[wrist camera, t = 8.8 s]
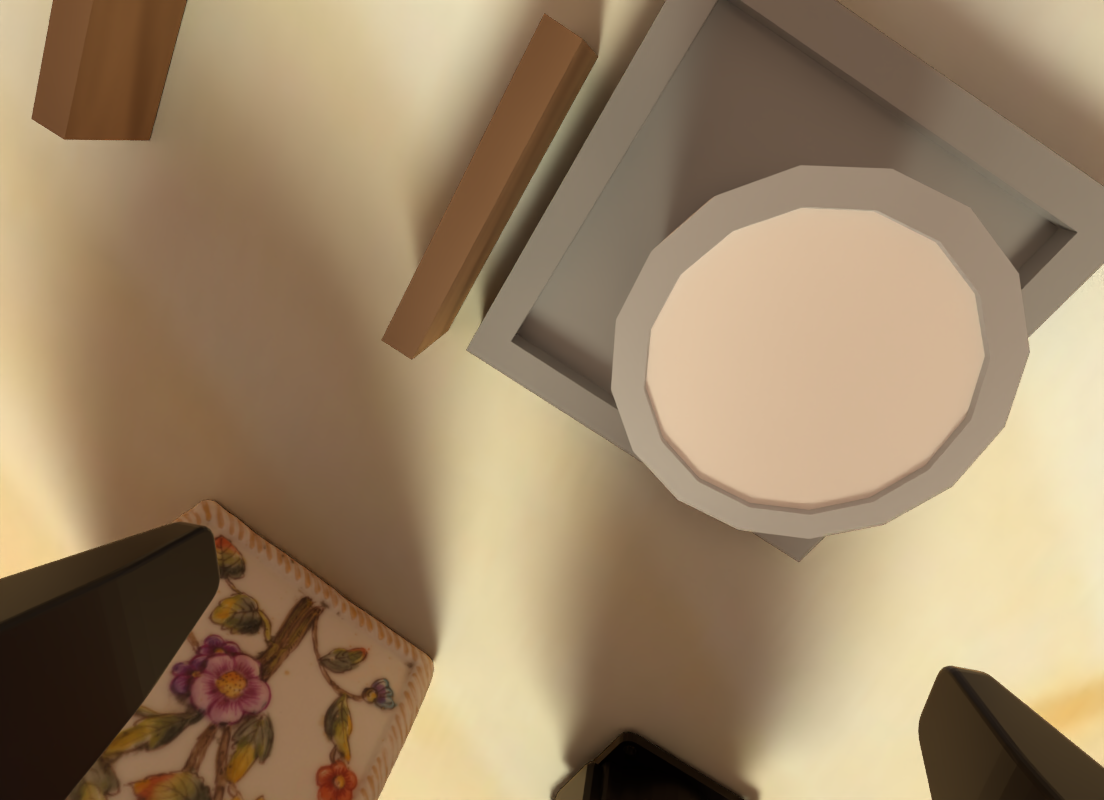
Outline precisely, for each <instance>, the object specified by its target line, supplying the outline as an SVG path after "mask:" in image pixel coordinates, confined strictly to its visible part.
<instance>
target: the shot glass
mask: <svg viewBox="0 0 1104 800" xmlns="http://www.w3.org/2000/svg"><path fill="white" fill-rule="evenodd" d="M1029 353H1030V350H1029V343H1028V336H1027V328H1026V321H1025V314H1024V307H1023V299H1022V292H1021V285H1020V277H1019V273H1018V272H1017V270H1016V269H1015V268H1014V266H1013V265H1012V264H1011V262H1010V261H1009V259H1008V258H1007V257H1006V255H1005V254H1004V253H1003V251H1002V250H1001V249H1000V247H999V246H998V245H997V243H996V242H995V240H994V239H993V238H992V236H991V235H990V234H989V232H988V231H987V230H986V228H985V227H984V225H983V224H982V223H981V221H980V220H979V219H978V217H977V216H976V215H975V213H974V212H973V211H972V209H971V208H970V207H968V206H966V205H964V204H962V203H960V202H958V201H956V200H954V199H952V198H950V197H948V196H946V195H944V194H942V193H940V192H938V191H936V190H934V189H932V188H930V187H928V186H926V185H924V184H922V183H920V182H918V181H916V180H914V179H912V178H910V177H908V176H906V175H904V174H902V173H900V172H898V171H896V170H894V169H887V168H860V167H834V166H808V165H800V166H797V167H794V168H791V169H789V170H786V171H783V172H780V173H777V174H775V175H772V176H769V177H766V178H764V179H761V180H758V181H755V182H752V183H750V184H747V185H744V186H741V187H738V188H736V189H733V190H730V191H727V192H725V193H722V194H719V195H716V196H714V197H713V198H711V199H710V200H709V201H708V202H707V203H705V204H704V205H703V206H702V207H701V208H700V209H699V210H697V211H696V212H695V213H694V214H693V215H692V216H690V217H689V218H688V219H687V220H686V221H685V222H684V223H682V224H681V225H680V226H679V227H678V228H677V229H676V230H674V231H673V232H672V233H671V234H670V235H669V236H668V237H667V238H666V239H664V240H663V241H662V242H661V243H660V244H659V245H658V246H657V247H656V248H654V249H653V250H652V251H651V253H650V255H649V257H648V258H647V260H646V262H645V264H644V266H643V268H642V270H641V272H640V274H639V276H638V278H637V280H636V282H635V284H634V286H633V288H632V290H631V291H630V293H629V295H628V297H627V299H626V301H625V303H624V305H623V307H622V309H621V311H620V313H619V315H618V317H617V319H616V326H615V340H614V354H613V367H612V381H611V391H612V394H613V397H614V399H615V402H616V405H617V408H618V411H619V413H620V416H621V419H622V422H623V425H624V427H625V430H626V433H627V436H628V439H629V442H630V444H631V447H632V450H633V452H634V453H635V454H636V455H637V456H638V457H639V458H640V460H641V461H642V462H643V463H644V464H645V465H646V466H647V467H648V468H649V469H650V470H651V472H652V473H653V474H654V475H655V476H656V477H657V478H658V479H659V480H660V481H661V482H662V484H663V485H664V486H665V487H666V488H667V489H668V490H669V491H670V492H671V493H672V494H673V495H674V497H675V498H676V499H677V500H679V501H681V502H683V503H685V504H687V505H689V506H691V507H693V508H695V509H697V510H699V511H701V512H703V513H705V514H707V515H709V516H711V517H713V518H715V519H717V520H719V521H721V522H723V523H725V524H727V525H729V526H731V527H733V528H735V529H737V530H743V531H751V532H759V533H767V534H775V535H782V536H790V537H798V538H806V539H812V538H817V537H822V536H827V535H833V534H838V533H843V532H848V531H853V530H859V529H864V528H869V527H874V526H879V525H884V524H886V523H888V522H889V521H891V520H893V519H895V518H897V517H898V516H900V515H902V514H904V513H906V512H907V511H909V510H911V509H913V508H915V507H916V506H918V505H920V504H922V503H924V502H925V501H927V500H929V499H931V498H933V497H934V496H936V495H938V494H940V493H942V492H943V491H945V490H947V489H949V488H951V487H952V486H953V485H954V484H955V483H956V482H957V481H958V479H959V478H960V477H961V476H962V475H963V474H964V473H965V471H966V470H967V469H968V468H969V467H970V466H971V465H972V464H973V462H974V461H975V460H976V459H977V458H978V457H979V456H980V454H981V453H982V452H983V451H984V450H985V449H986V448H987V446H988V445H989V444H990V443H991V442H992V441H993V440H994V438H995V437H996V436H997V435H998V434H999V433H1000V432H1001V430H1002V429H1003V428H1004V427H1005V424H1006V421H1007V418H1008V415H1009V412H1010V409H1011V406H1012V403H1013V400H1014V397H1015V394H1016V391H1017V388H1018V386H1019V383H1020V380H1021V377H1022V374H1023V371H1024V368H1025V365H1026V362H1027V359H1028V356H1029Z"/></svg>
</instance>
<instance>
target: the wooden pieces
mask: <svg viewBox="0 0 1104 800" xmlns="http://www.w3.org/2000/svg"><path fill="white" fill-rule="evenodd" d="M186 1H187V0H53V4H52V9H51V15H50V20H49V26H48V31H47V37H46V42H45V48H44V53H43V59H42V64H41V70H40V75H39V81H38V86H37V92H36V97H35V103H34V108H33V114H32V119H33V120H34V121H36V122H38V123H39V124H41V125H42V126H44V127H45V128H47V129H49V130H50V131H52V132H53V133H55V134H56V135H58V136H60V137H61V138H63V139H68V140H150V136H151V132H152V129H153V125H154V121H155V117H156V114H157V110H158V106H159V102H160V99H161V95H162V91H163V87H164V84H165V80H166V76H167V72H168V69H169V65H170V61H171V58H172V54H173V50H174V46H175V43H176V39H177V35H178V31H179V28H180V24H181V20H182V16H183V13H184V9H185V5H186ZM597 58H598V56H597V55H596V54H595V53H594V51H593V50H592V49H591V48H590V47H589V46H588V45H587V43H586V42H585V41H584V40H583V39H582V38H581V37H579V36H578V35H576V34H575V33H573V32H572V31H570V30H569V29H567V28H566V27H564V26H563V25H561V24H560V23H558V22H557V21H555V20H554V19H552V18H551V17H549V16H548V15H546V14H545V13H544V15H543V17H542V19H541V21H540V23H539V25H538V27H537V29H536V31H535V33H534V35H533V37H532V39H531V41H530V43H529V45H528V47H527V49H526V51H525V53H524V55H523V57H522V59H521V61H520V63H519V65H518V67H517V69H516V71H515V73H514V75H513V77H512V79H511V81H510V83H509V85H508V87H507V89H506V91H505V93H504V95H503V97H502V99H501V101H500V103H499V105H498V107H497V109H496V111H495V113H494V115H493V117H492V119H491V121H490V123H489V125H488V127H487V129H486V131H485V133H484V135H483V137H482V139H481V141H480V143H479V145H478V147H477V149H476V151H475V153H474V155H473V157H472V159H471V161H470V163H469V165H468V167H467V169H466V171H465V173H464V175H463V177H462V179H461V181H460V183H459V185H458V187H457V189H456V191H455V193H454V195H453V197H452V199H451V201H450V204H449V206H448V208H447V210H446V212H445V214H444V216H443V218H442V220H441V222H440V224H439V226H438V228H437V230H436V232H435V234H434V236H433V238H432V240H431V242H430V244H429V246H428V248H427V250H426V252H425V254H424V256H423V258H422V260H421V262H420V264H419V266H418V268H417V270H416V272H415V274H414V276H413V278H412V280H411V282H410V284H409V286H408V288H407V290H406V292H405V294H404V296H403V298H402V300H401V302H400V304H399V306H398V308H397V310H396V312H395V314H394V316H393V318H392V320H391V322H390V324H389V326H388V328H387V330H386V332H385V334H384V336H383V338H382V341H383V342H385V343H387V344H388V345H390V346H391V347H393V348H394V349H396V350H398V351H399V352H401V353H402V354H404V355H405V356H407V357H409V358H410V359H413V358H415V357H416V356H417V355H418V354H420V353H421V352H422V351H423V350H425V349H426V348H427V347H428V346H430V345H431V344H432V343H433V342H435V341H436V340H437V339H438V338H440V337H441V336H442V335H443V334H445V333H446V332H447V331H448V330H449V328H450V326H451V324H452V322H453V320H454V319H455V317H456V315H457V313H458V311H459V310H460V308H461V306H462V304H463V302H464V300H465V299H466V297H467V295H468V293H469V291H470V289H471V288H472V286H473V284H474V282H475V280H476V278H477V277H478V275H479V273H480V271H481V269H482V268H483V266H484V264H485V262H486V260H487V258H488V257H489V255H490V253H491V251H492V249H493V247H494V246H495V244H496V242H497V240H498V238H499V237H500V235H501V233H502V231H503V229H504V227H505V226H506V224H507V222H508V220H509V218H510V216H511V215H512V213H513V211H514V209H515V207H516V206H517V204H518V202H519V200H520V198H521V196H522V195H523V193H524V191H525V189H526V187H527V185H528V184H529V182H530V180H531V178H532V176H533V175H534V173H535V171H536V169H537V167H538V165H539V164H540V162H541V160H542V158H543V156H544V154H545V153H546V151H547V149H548V147H549V145H550V144H551V142H552V140H553V138H554V136H555V134H556V133H557V131H558V129H559V127H560V125H561V123H562V122H563V120H564V118H565V116H566V114H567V113H568V111H569V109H570V107H571V105H572V103H573V102H574V100H575V98H576V96H577V94H578V92H579V91H580V89H581V87H582V85H583V83H584V82H585V80H586V78H587V76H588V74H589V72H590V71H591V69H592V67H593V65H594V63H595V61H596V60H597Z"/></svg>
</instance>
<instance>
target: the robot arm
mask: <svg viewBox="0 0 1104 800" xmlns="http://www.w3.org/2000/svg"><path fill="white" fill-rule="evenodd" d="M219 583H220V572H219V566H218V559H217V552H216V545H215V539H214V534H213V532H212V531H211V529H210V528H208V527H206V526H204V525H199V524H194V523H188V522H174V523H171V524H168V525H165V526H162V527H158V528H155V529H152V530H149V531H146V532H143V533H140V534H137V535H134V536H131V537H128V538H125V539H121V540H118V541H115V542H112V543H109V544H106V545H103V546H100V547H97V548H94V549H91V550H88V551H84V552H81V553H78V554H75V555H72V556H69V557H66V558H63V559H60V560H57V561H54V562H51V563H47V564H44V565H41V566H38V567H35V568H32V569H29V570H26V571H23V572H20V573H17V574H14V575H10V576H7V577H4V578H1V579H0V800H66V798H67V797H68V796H69V795H70V793H71V792H72V791H73V790H74V788H75V787H76V786H77V785H78V783H79V782H80V781H81V780H82V778H83V777H84V776H85V775H86V773H87V772H88V771H89V770H90V769H91V767H92V766H93V765H94V764H95V762H96V761H97V760H98V759H99V757H100V756H101V755H102V754H103V752H104V751H105V750H106V749H107V747H108V746H109V745H110V744H111V742H112V741H113V740H114V739H115V737H116V736H117V735H118V734H119V732H120V731H121V730H122V729H123V727H124V726H125V725H126V724H127V723H128V721H129V720H130V719H131V717H132V716H133V715H134V714H135V712H136V711H137V710H138V708H139V707H140V706H141V704H142V703H143V702H144V700H145V699H146V698H147V696H148V695H149V693H150V692H151V691H152V689H153V688H154V686H155V685H156V684H157V682H158V681H159V679H160V678H161V676H162V675H163V673H164V672H165V670H166V669H167V667H168V666H169V664H170V663H171V661H172V660H173V658H174V657H175V655H176V654H177V652H178V651H179V649H180V648H181V646H182V645H183V643H184V642H185V640H186V639H187V637H188V636H189V634H190V633H191V631H192V630H193V628H194V627H195V625H196V624H197V622H198V621H199V619H200V618H201V616H202V615H203V613H204V612H205V610H206V609H207V607H208V606H209V604H210V603H211V601H212V600H213V598H214V596H215V595H216V592H217V590H218V587H219ZM918 732H919V741H920V746H921V751H922V755H923V760H924V765H925V769H926V774H927V778H928V783H929V788H930V792H931V797H932V800H1104V768H1103V767H1102V766H1101V765H1100V764H1099V763H1097V762H1096V761H1095V760H1094V759H1092V758H1091V757H1090V756H1089V755H1087V754H1086V753H1085V752H1084V751H1083V750H1081V749H1080V748H1079V747H1078V746H1076V745H1075V744H1074V743H1073V742H1071V741H1070V740H1069V739H1068V738H1067V737H1065V736H1064V735H1063V734H1062V733H1060V732H1059V731H1058V730H1057V729H1056V728H1054V727H1053V726H1052V725H1051V724H1049V723H1048V722H1047V721H1046V720H1044V719H1043V718H1042V717H1041V716H1040V715H1038V714H1037V713H1036V712H1035V711H1033V710H1032V709H1031V708H1030V707H1028V706H1027V705H1026V704H1025V703H1024V702H1022V701H1021V700H1020V699H1019V698H1017V697H1016V696H1015V695H1014V694H1012V693H1011V692H1010V691H1009V690H1008V689H1006V688H1005V687H1004V686H1003V685H1001V684H1000V683H999V682H998V681H996V680H995V679H994V678H993V677H991V676H990V675H989V674H987V673H984V672H981V671H977V670H972V669H966V668H961V667H956V666H947V667H944V668H943V669H941V670H940V672H939V673H938V675H937V677H936V680H935V682H934V685H933V687H932V689H931V692H930V694H929V697H928V699H927V701H926V704H925V706H924V709H923V711H922V714H921V716H920V720H919V729H918ZM629 745H630V746H629ZM555 800H744V799H742V798H740V797H739V796H737V795H735V794H734V793H732V792H731V791H729V790H727V789H726V788H724V787H722V786H721V785H719V784H717V783H716V782H714V781H713V780H711V779H709V778H708V777H706V776H704V775H703V774H701V773H699V772H698V771H696V770H695V769H693V768H691V767H690V766H688V765H686V764H685V763H683V762H681V761H680V760H678V759H677V758H675V757H673V756H672V755H670V754H668V753H667V752H665V751H664V750H662V749H660V748H659V747H657V746H655V745H654V744H652V743H650V742H649V741H647V740H646V739H644V738H642V737H641V736H639V735H637V734H635V733H631V732H626V733H623V734H621V735H620V736H619V737H618V738H617V739H616V740H615V741H614V742H613V743H612V744H611V745H610V746H608V747H607V748H606V749H605V750H604V751H603V752H602V753H601V754H600V755H599V756H598V757H597V758H596V759H595V760H594V761H592V762H590V763H588V764H586V765H585V766H584V767H583V768H582V769H581V770H580V771H579V772H578V773H577V774H576V775H575V776H574V777H573V778H572V779H571V780H570V781H569V782H568V783H567V784H566V785H565V786H564V787H563V788H562V789H561V790H560V791H559V792H558V793H557V796H556V799H555Z"/></svg>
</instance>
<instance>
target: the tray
mask: <svg viewBox="0 0 1104 800" xmlns="http://www.w3.org/2000/svg"><path fill="white" fill-rule="evenodd" d="M800 165H808V166H834V167H860V168H887V169H894V170H896V171H898V172H900V173H902V174H904V175H906V176H908V177H910V178H912V179H914V180H916V181H918V182H920V183H922V184H924V185H926V186H928V187H930V188H932V189H934V190H936V191H938V192H940V193H942V194H944V195H946V196H948V197H950V198H952V199H954V200H956V201H958V202H960V203H962V204H964V205H966V206H968V207H970V208H971V209H972V211H973V212H974V213H975V215H976V216H977V217H978V219H979V220H980V221H981V223H982V224H983V225H984V227H985V228H986V230H987V231H988V232H989V234H990V235H991V236H992V238H993V239H994V240H995V242H996V243H997V245H998V246H999V247H1000V249H1001V250H1002V251H1003V253H1004V254H1005V255H1006V257H1007V258H1008V259H1009V261H1010V262H1011V264H1012V265H1013V266H1014V268H1015V269H1016V270H1017V272H1018V273H1019V277H1020V285H1021V292H1022V299H1023V307H1024V314H1025V321H1026V328H1027V336H1028V337H1029V336H1030V335H1031V334H1032V333H1033V332H1034V331H1035V330H1037V329H1038V328H1039V327H1040V326H1041V325H1042V324H1043V323H1044V322H1045V321H1046V320H1047V319H1048V318H1049V317H1050V316H1051V315H1052V314H1053V313H1054V312H1055V311H1056V310H1057V309H1058V308H1059V307H1060V306H1061V305H1062V304H1063V303H1064V302H1065V301H1066V300H1067V299H1068V298H1069V297H1070V296H1071V295H1072V294H1073V293H1074V292H1075V291H1076V290H1077V289H1078V288H1079V287H1080V286H1081V285H1082V284H1083V283H1085V282H1086V281H1087V280H1088V279H1089V278H1090V277H1091V276H1092V275H1093V274H1094V273H1095V272H1096V271H1097V270H1098V269H1099V268H1100V267H1101V266H1102V265H1103V264H1104V186H1103V185H1101V184H1100V183H1098V182H1097V181H1095V180H1094V179H1093V178H1091V177H1090V176H1088V175H1087V174H1085V173H1084V172H1082V171H1081V170H1080V169H1078V168H1077V167H1075V166H1074V165H1072V164H1071V163H1069V162H1068V161H1067V160H1065V159H1064V158H1062V157H1061V156H1059V155H1058V154H1056V153H1055V152H1054V151H1052V150H1051V149H1049V148H1048V147H1046V146H1045V145H1044V144H1042V143H1041V142H1039V141H1038V140H1036V139H1035V138H1033V137H1032V136H1031V135H1029V134H1028V133H1026V132H1025V131H1023V130H1022V129H1020V128H1019V127H1018V126H1016V125H1015V124H1013V123H1012V122H1010V121H1009V120H1007V119H1006V118H1005V117H1003V116H1002V115H1000V114H999V113H997V112H996V111H995V110H993V109H992V108H990V107H989V106H987V105H986V104H984V103H983V102H982V101H980V100H979V99H977V98H976V97H974V96H973V95H971V94H970V93H969V92H967V91H966V90H964V89H963V88H961V87H960V86H958V85H957V84H956V83H954V82H953V81H951V80H950V79H948V78H947V77H946V76H944V75H943V74H941V73H940V72H938V71H937V70H935V69H934V68H933V67H931V66H930V65H928V64H927V63H925V62H924V61H922V60H921V59H920V58H918V57H917V56H915V55H914V54H912V53H911V52H909V51H908V50H907V49H905V48H904V47H902V46H901V45H899V44H898V43H897V42H895V41H894V40H892V39H891V38H889V37H888V36H886V35H885V34H884V33H882V32H881V31H879V30H878V29H876V28H875V27H873V26H872V25H871V24H869V23H868V22H866V21H865V20H863V19H862V18H860V17H859V16H858V15H856V14H855V13H853V12H852V11H850V10H849V9H848V8H846V7H845V6H843V5H842V4H840V3H839V2H837V1H836V0H666V1H665V3H664V5H663V6H662V8H661V10H660V12H659V13H658V15H657V17H656V19H655V20H654V22H653V24H652V26H651V27H650V29H649V31H648V33H647V34H646V36H645V38H644V40H643V41H642V43H641V45H640V47H639V48H638V50H637V52H636V54H635V55H634V57H633V59H632V61H631V62H630V64H629V66H628V68H627V69H626V71H625V73H624V75H623V76H622V78H621V80H620V82H619V83H618V85H617V87H616V89H615V90H614V92H613V94H612V96H611V97H610V99H609V101H608V103H607V104H606V106H605V108H604V110H603V111H602V113H601V115H600V117H599V118H598V120H597V122H596V124H595V125H594V127H593V129H592V131H591V132H590V134H589V136H588V138H587V139H586V141H585V143H584V145H583V146H582V148H581V150H580V152H579V153H578V155H577V157H576V159H575V160H574V162H573V164H572V166H571V167H570V169H569V171H568V173H567V174H566V176H565V178H564V180H563V181H562V183H561V185H560V187H559V188H558V190H557V192H556V193H555V195H554V197H553V199H552V200H551V202H550V204H549V206H548V207H547V209H546V211H545V213H544V214H543V216H542V218H541V220H540V221H539V223H538V225H537V227H536V228H535V230H534V232H533V234H532V235H531V237H530V239H529V241H528V242H527V244H526V246H525V248H524V249H523V251H522V253H521V255H520V256H519V258H518V260H517V262H516V263H515V265H514V267H513V269H512V270H511V272H510V274H509V276H508V277H507V279H506V281H505V283H504V284H503V286H502V288H501V290H500V291H499V293H498V295H497V297H496V298H495V300H494V302H493V304H492V305H491V307H490V309H489V311H488V312H487V314H486V316H485V318H484V319H483V321H482V323H481V325H480V326H479V328H478V330H477V332H476V333H475V335H474V337H473V339H472V340H471V342H470V344H469V346H468V347H467V349H466V350H467V351H468V352H470V353H471V354H473V355H475V356H476V357H478V358H479V359H481V360H482V361H484V362H486V363H487V364H489V365H490V366H492V367H493V368H495V369H497V370H498V371H500V372H501V373H503V374H504V375H506V376H508V377H509V378H511V379H512V380H514V381H515V382H517V383H519V384H520V385H522V386H523V387H525V388H526V389H528V390H529V391H531V392H533V393H534V394H536V395H537V396H539V397H540V398H542V399H544V400H545V401H547V402H548V403H550V404H551V405H553V406H555V407H556V408H558V409H559V410H561V411H562V412H564V413H566V414H567V415H569V416H570V417H572V418H573V419H575V420H577V421H578V422H580V423H581V424H583V425H584V426H586V427H588V428H589V429H591V430H592V431H594V432H595V433H597V434H599V435H600V436H602V437H603V438H605V439H606V440H608V441H610V442H611V443H613V444H614V445H616V446H617V447H619V448H621V449H622V450H624V451H625V452H627V453H628V454H630V455H631V456H633V457H635V458H636V459H638V460H639V461H641V460H640V458H639V457H638V456H637V455H636V454H635V453H634V452H633V450H632V447H631V444H630V442H629V439H628V436H627V433H626V430H625V427H624V425H623V422H622V419H621V416H620V413H619V411H618V408H617V405H616V402H615V399H614V397H613V394H612V391H611V381H612V367H613V354H614V340H615V326H616V319H617V317H618V315H619V313H620V311H621V309H622V307H623V305H624V303H625V301H626V299H627V297H628V295H629V293H630V291H631V290H632V288H633V286H634V284H635V282H636V280H637V278H638V276H639V274H640V272H641V270H642V268H643V266H644V264H645V262H646V260H647V258H648V257H649V255H650V253H651V251H652V250H653V249H654V248H656V247H657V246H658V245H659V244H660V243H661V242H662V241H663V240H664V239H666V238H667V237H668V236H669V235H670V234H671V233H672V232H673V231H674V230H676V229H677V228H678V227H679V226H680V225H681V224H682V223H684V222H685V221H686V220H687V219H688V218H689V217H690V216H692V215H693V214H694V213H695V212H696V211H697V210H699V209H700V208H701V207H702V206H703V205H704V204H705V203H707V202H708V201H709V200H710V199H711V198H713V197H714V196H716V195H719V194H722V193H725V192H727V191H730V190H733V189H736V188H738V187H741V186H744V185H747V184H750V183H752V182H755V181H758V180H761V179H764V178H766V177H769V176H772V175H775V174H777V173H780V172H783V171H786V170H789V169H791V168H794V167H797V166H800ZM641 462H642V461H641ZM642 463H643V462H642ZM752 533H754V534H755V535H757V536H759V537H760V538H762V539H763V540H765V541H766V542H768V543H770V544H771V545H773V546H774V547H776V548H777V549H779V550H781V551H782V552H784V553H785V554H787V555H788V556H790V557H792V558H793V559H795V560H796V561H798V562H800V561H801V560H802V559H803V558H804V557H805V556H806V555H807V554H808V553H809V552H810V551H811V550H812V549H813V548H814V547H815V546H816V545H817V544H818V543H819V542H820V541H821V540H822V539H823V538H824V537H825V536H822V537H817V538H812V539H806V538H798V537H790V536H782V535H775V534H767V533H759V532H752Z"/></svg>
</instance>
